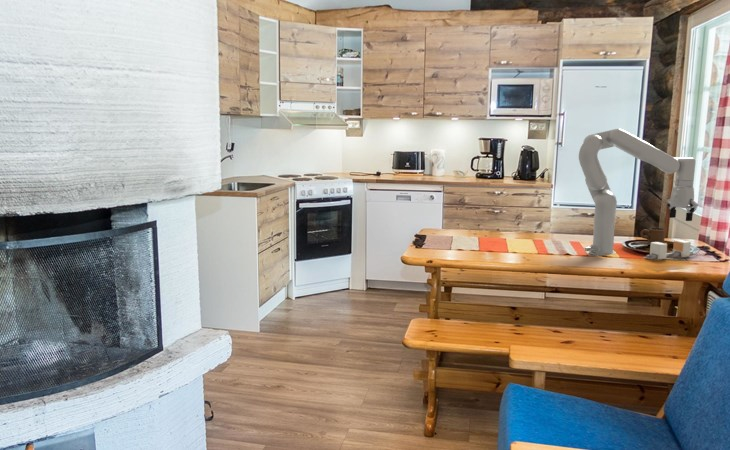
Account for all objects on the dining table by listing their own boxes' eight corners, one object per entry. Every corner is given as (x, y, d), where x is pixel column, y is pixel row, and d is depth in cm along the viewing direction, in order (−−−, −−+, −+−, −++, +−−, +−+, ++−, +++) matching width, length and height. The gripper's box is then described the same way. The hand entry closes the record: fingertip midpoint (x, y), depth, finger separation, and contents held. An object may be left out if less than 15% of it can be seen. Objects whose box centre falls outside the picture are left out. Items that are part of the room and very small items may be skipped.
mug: (642, 247, 300) (643, 230, 298) (637, 244, 307) (638, 227, 306) (666, 248, 298) (667, 230, 297) (660, 245, 306) (661, 227, 304)
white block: (659, 259, 269) (660, 244, 267) (649, 256, 274) (650, 242, 273) (667, 258, 270) (668, 244, 269) (657, 255, 276) (658, 241, 274)
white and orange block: (681, 257, 272) (683, 242, 271) (671, 254, 278) (672, 240, 277) (689, 256, 274) (690, 242, 273) (679, 253, 279) (680, 239, 278)
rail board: (653, 262, 267) (653, 256, 267) (641, 259, 274) (642, 253, 273) (696, 258, 275) (697, 252, 274) (684, 255, 281) (685, 249, 281)
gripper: (663, 182, 278) (660, 216, 281) (692, 185, 262) (689, 222, 265) (675, 181, 280) (672, 216, 283) (705, 185, 264) (701, 221, 267)
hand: (680, 219), depth 274 cm, fingers open, 9 cm apart
